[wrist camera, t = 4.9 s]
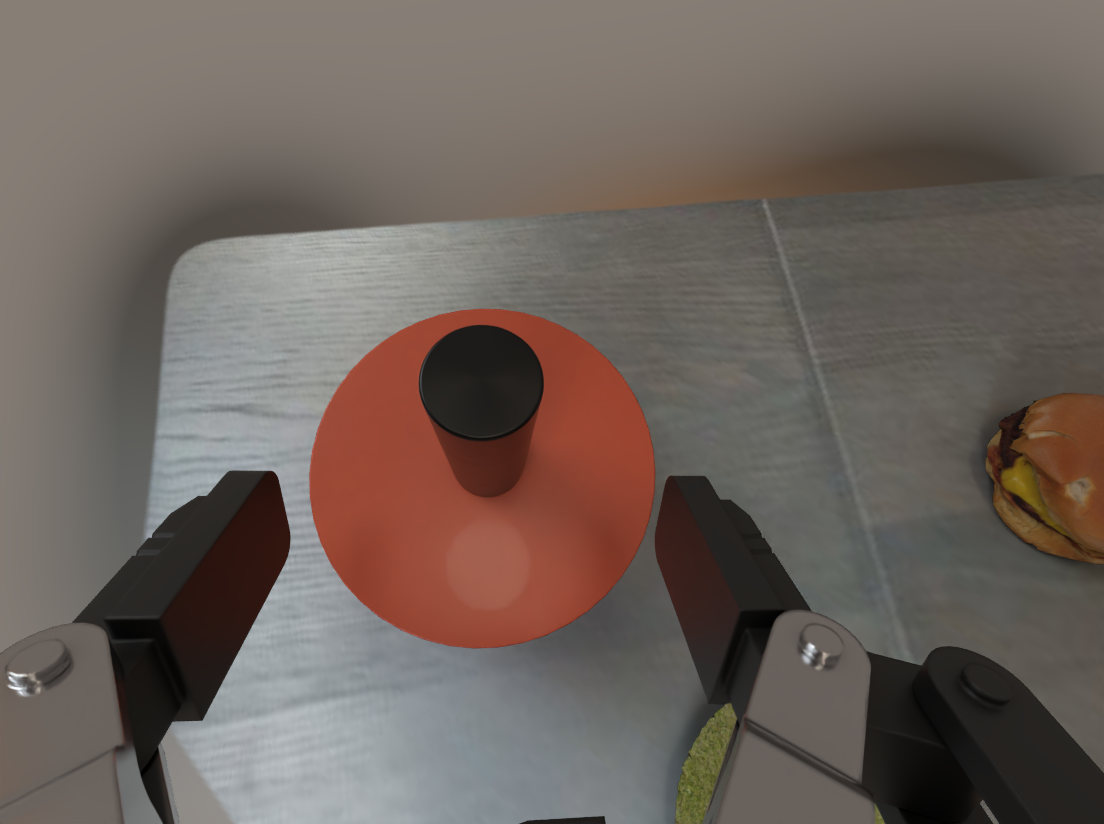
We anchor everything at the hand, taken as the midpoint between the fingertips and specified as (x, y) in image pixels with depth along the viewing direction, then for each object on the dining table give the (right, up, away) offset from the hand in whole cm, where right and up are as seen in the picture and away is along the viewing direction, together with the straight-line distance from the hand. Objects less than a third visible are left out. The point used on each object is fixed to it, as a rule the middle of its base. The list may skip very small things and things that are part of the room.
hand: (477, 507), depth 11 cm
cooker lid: (-1, 0, +10) cm, 10 cm away
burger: (+32, -2, +21) cm, 38 cm away
